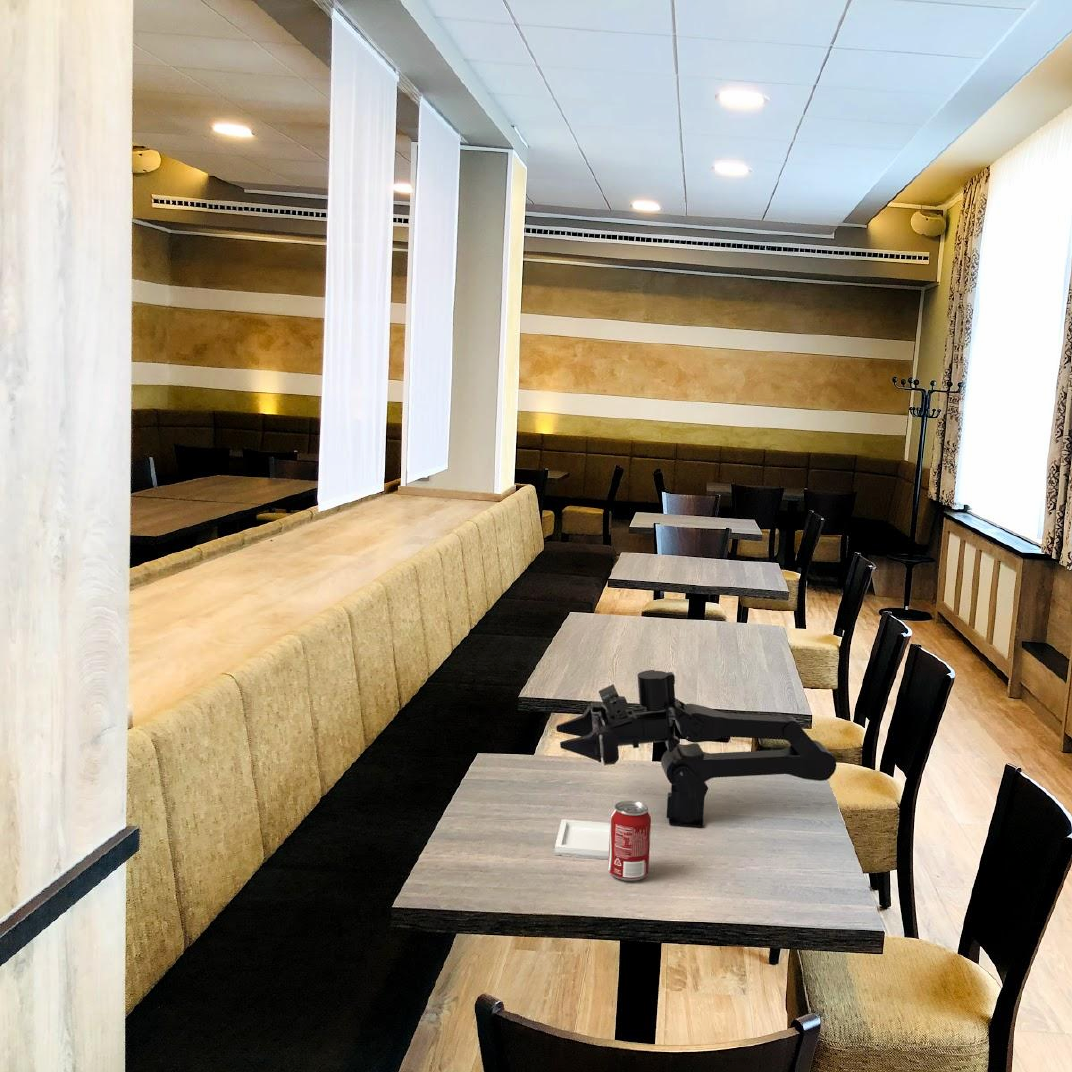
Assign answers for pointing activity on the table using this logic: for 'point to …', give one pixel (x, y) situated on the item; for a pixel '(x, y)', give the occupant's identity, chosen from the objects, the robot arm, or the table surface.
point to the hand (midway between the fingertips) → (558, 736)
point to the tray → (583, 839)
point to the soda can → (629, 841)
